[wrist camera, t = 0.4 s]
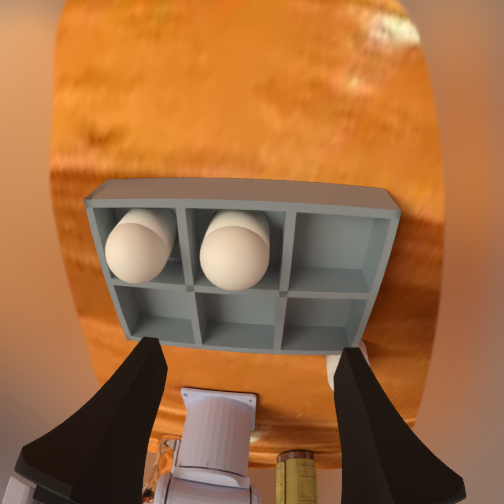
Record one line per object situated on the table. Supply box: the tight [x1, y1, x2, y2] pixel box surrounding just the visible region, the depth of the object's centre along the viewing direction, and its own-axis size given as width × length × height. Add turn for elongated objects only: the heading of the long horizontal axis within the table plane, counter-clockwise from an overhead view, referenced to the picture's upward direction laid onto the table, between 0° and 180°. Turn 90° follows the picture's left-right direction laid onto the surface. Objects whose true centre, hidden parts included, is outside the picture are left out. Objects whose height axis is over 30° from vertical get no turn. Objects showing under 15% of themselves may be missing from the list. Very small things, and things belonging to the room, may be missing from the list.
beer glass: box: [142, 434, 182, 504], centre depth 34 cm, size 7×7×15 cm
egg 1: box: [105, 207, 179, 284], centre depth 17 cm, size 4×4×5 cm
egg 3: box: [325, 340, 370, 391], centre depth 23 cm, size 4×4×5 cm
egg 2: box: [200, 209, 270, 291], centre depth 17 cm, size 4×4×5 cm
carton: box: [84, 178, 402, 355], centre depth 19 cm, size 12×17×3 cm
